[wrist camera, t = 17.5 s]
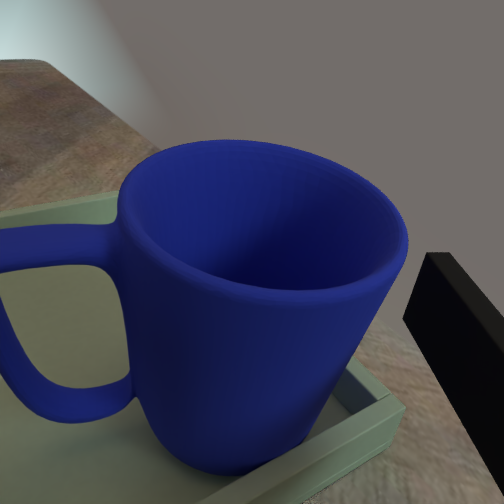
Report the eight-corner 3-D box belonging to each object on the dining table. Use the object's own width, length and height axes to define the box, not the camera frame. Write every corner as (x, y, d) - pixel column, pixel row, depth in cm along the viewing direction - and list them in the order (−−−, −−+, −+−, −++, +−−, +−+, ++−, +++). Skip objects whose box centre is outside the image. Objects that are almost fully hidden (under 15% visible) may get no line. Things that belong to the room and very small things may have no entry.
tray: (390, 447, 19) (407, 407, 18) (-142, 786, 11) (-194, 763, 9) (173, 212, 34) (173, 179, 32) (-123, 275, 25) (-141, 235, 24)
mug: (18, 361, 19) (-37, 137, 13) (280, 321, 23) (329, 137, 17) (5, 582, 13) (-105, 356, 7) (360, 476, 17) (475, 277, 11)
